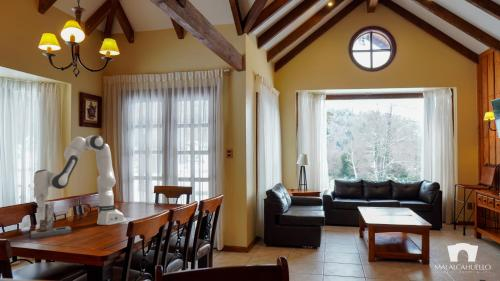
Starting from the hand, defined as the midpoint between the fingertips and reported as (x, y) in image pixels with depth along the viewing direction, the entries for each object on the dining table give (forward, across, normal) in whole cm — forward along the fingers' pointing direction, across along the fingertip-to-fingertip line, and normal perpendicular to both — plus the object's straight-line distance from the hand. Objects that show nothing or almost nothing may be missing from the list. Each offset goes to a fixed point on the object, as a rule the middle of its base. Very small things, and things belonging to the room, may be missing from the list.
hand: (41, 213), depth 244 cm
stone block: (+16, +20, -5) cm, 26 cm away
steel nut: (+4, 0, 0) cm, 4 cm away
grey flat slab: (+15, 0, -6) cm, 17 cm away
